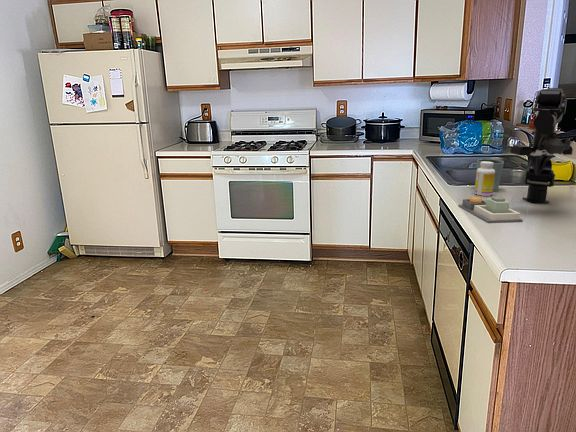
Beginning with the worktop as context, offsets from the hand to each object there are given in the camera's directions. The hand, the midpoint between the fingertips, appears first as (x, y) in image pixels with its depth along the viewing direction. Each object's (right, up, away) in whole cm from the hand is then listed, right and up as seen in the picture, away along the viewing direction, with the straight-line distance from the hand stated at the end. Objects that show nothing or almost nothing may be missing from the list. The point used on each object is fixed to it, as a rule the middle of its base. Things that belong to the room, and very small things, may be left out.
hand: (537, 175), depth 152 cm
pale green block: (-17, -14, -6) cm, 23 cm away
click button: (-20, -11, +3) cm, 23 cm away
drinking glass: (-3, -3, +32) cm, 32 cm away
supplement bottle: (-8, -6, +24) cm, 26 cm away
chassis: (-18, -13, -2) cm, 22 cm away
